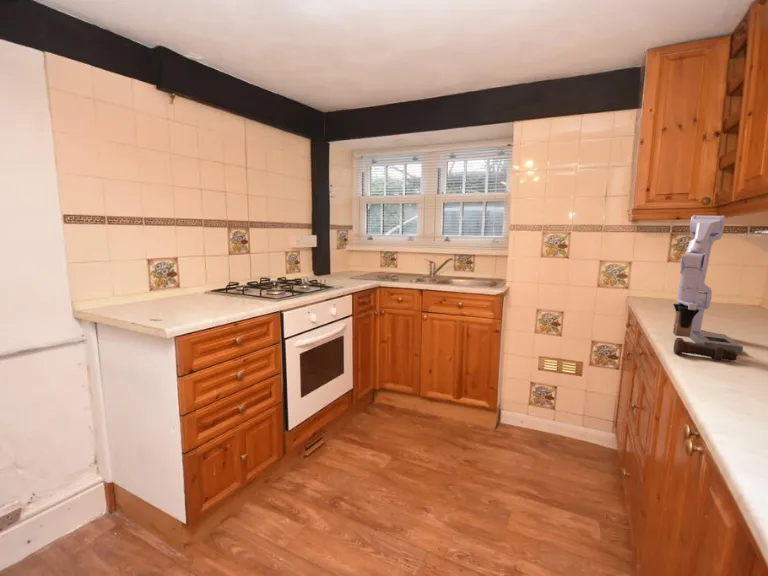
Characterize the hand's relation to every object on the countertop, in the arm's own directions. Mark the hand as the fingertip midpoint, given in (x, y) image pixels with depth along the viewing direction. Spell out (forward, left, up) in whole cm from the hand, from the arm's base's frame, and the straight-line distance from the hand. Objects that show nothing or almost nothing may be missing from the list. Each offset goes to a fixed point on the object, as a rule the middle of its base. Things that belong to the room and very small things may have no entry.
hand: (682, 326), depth 139 cm
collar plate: (0, +9, -5) cm, 11 cm away
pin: (0, 0, -3) cm, 3 cm away
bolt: (+18, +2, -6) cm, 19 cm away
